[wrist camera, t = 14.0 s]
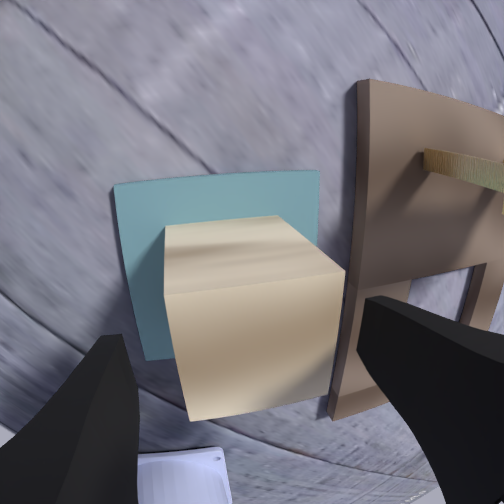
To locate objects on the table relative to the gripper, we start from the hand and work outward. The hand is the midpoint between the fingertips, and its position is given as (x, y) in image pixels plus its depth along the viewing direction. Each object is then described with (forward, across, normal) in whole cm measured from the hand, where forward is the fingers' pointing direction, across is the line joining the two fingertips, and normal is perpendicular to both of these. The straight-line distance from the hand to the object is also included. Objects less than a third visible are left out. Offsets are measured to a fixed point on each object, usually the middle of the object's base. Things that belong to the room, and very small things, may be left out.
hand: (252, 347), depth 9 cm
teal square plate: (+5, 0, 0) cm, 5 cm away
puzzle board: (+5, -13, +1) cm, 14 cm away
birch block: (+5, 0, 0) cm, 5 cm away
